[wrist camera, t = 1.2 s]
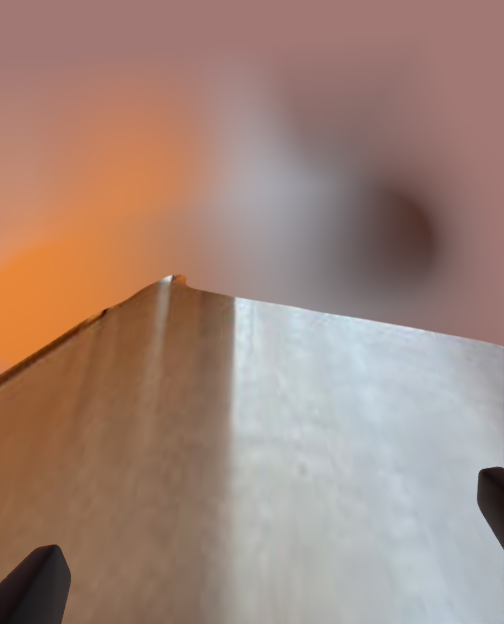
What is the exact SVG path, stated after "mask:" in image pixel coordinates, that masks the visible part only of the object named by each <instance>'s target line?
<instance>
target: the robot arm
mask: <svg viewBox="0 0 504 624" xmlns="http://www.w3.org/2000/svg"><path fill="white" fill-rule="evenodd" d="M477 502H478V506H479V508H480V510H481V512H482V514H483V516H484V517H485V519H486V521H487V522H488V524H489V526H490V527H491V529H492V531H493V532H494V534H495V536H496V538H497V539H498V541H499V543H500V544H501V546H502V548H503V549H504V468H502V467H492V468H486V469H482V470H481V471H480V472H479V475H478V491H477ZM70 582H71V574H70V570H69V567H68V565H67V563H66V560H65V558H64V556H63V553H62V551H61V549H60V547H59V546H58V545H48V546H43V547H38V548H36V549H35V550H34V551H32V552H31V553H30V554H29V555H28V556H27V557H26V558H25V559H24V560H23V561H22V562H21V563H20V564H19V565H18V566H17V567H16V568H15V569H14V570H13V571H12V572H11V573H10V574H9V575H8V576H7V577H6V578H5V579H4V580H3V581H2V582H1V583H0V624H61V622H62V618H63V614H64V609H65V605H66V601H67V597H68V592H69V588H70Z"/></svg>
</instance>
